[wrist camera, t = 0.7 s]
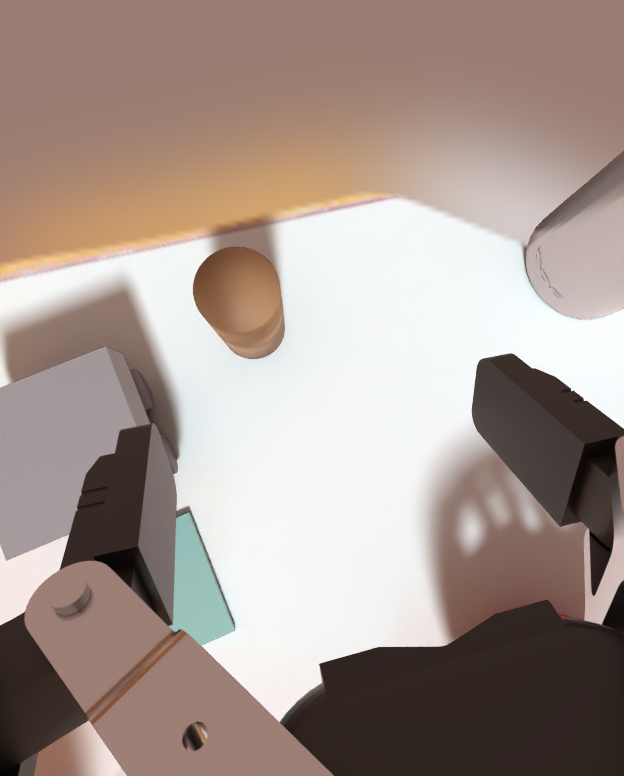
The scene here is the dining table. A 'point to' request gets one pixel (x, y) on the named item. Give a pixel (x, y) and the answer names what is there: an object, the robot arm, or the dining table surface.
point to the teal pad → (196, 588)
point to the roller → (241, 301)
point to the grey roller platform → (62, 441)
